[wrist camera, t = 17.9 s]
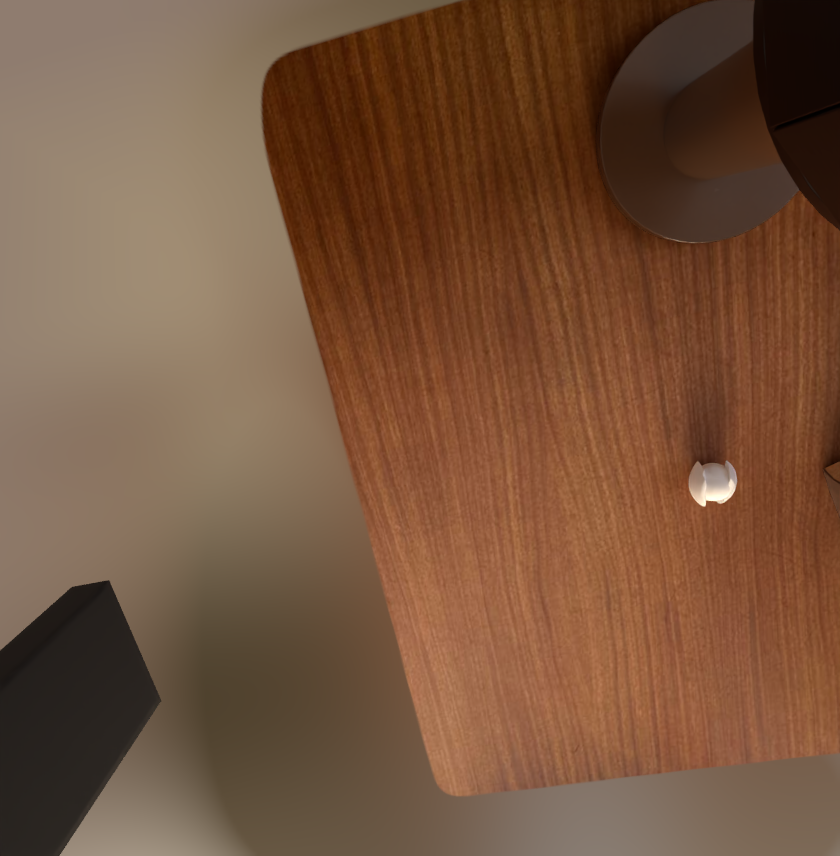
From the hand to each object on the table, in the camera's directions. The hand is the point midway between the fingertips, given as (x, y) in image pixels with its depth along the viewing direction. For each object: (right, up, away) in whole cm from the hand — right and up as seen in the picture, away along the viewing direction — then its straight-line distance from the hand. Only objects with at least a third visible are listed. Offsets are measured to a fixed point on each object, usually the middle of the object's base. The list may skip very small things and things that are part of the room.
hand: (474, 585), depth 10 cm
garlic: (+25, -1, +43) cm, 49 cm away
